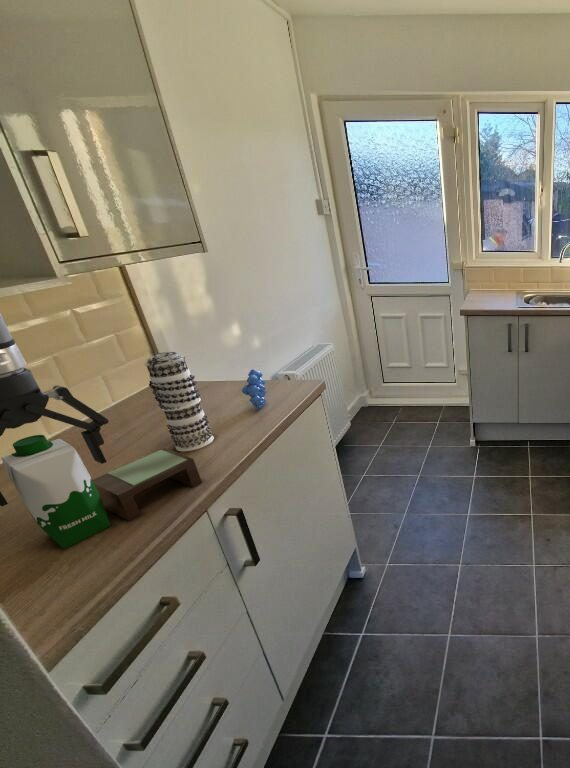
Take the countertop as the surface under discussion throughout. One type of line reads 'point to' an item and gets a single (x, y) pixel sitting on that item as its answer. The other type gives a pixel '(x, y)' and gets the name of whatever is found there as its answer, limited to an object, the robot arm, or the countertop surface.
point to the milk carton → (56, 489)
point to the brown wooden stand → (143, 480)
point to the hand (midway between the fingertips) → (55, 480)
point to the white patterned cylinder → (179, 401)
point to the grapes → (255, 389)
